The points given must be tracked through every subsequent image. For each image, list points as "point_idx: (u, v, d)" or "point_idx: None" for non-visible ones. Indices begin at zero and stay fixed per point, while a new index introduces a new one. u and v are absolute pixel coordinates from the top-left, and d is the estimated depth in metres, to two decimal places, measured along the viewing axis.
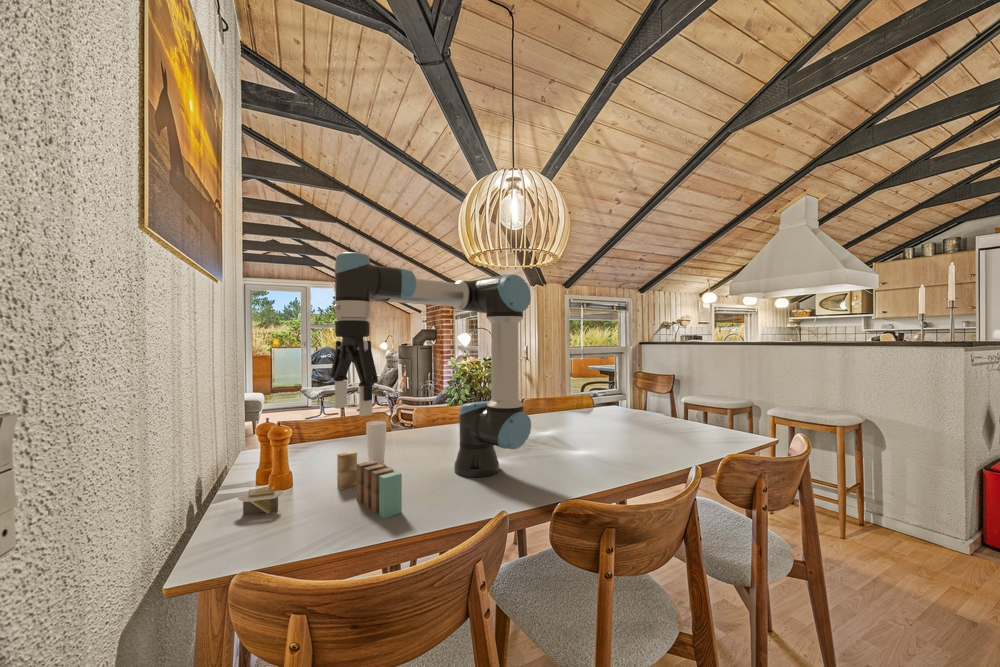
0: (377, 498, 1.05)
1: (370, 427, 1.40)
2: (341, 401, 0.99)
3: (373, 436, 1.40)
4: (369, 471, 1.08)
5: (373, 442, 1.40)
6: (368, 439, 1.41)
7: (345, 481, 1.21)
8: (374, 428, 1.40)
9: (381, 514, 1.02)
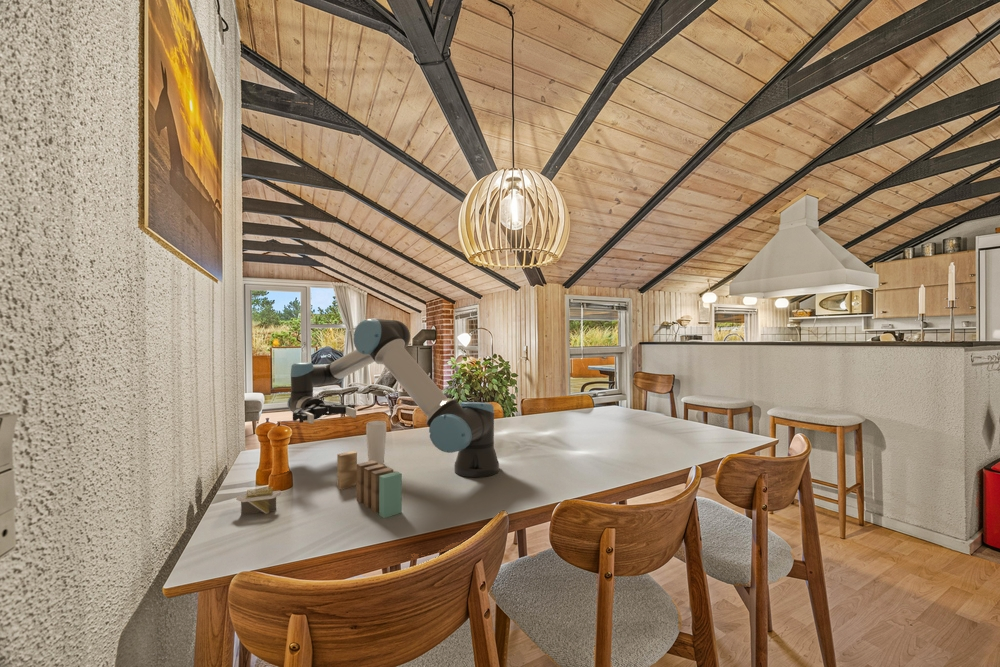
0: (377, 498, 1.05)
1: (370, 427, 1.40)
2: (352, 413, 1.36)
3: (373, 436, 1.40)
4: (369, 471, 1.08)
5: (373, 442, 1.40)
6: (368, 439, 1.41)
7: (345, 481, 1.21)
8: (374, 428, 1.40)
9: (381, 514, 1.02)
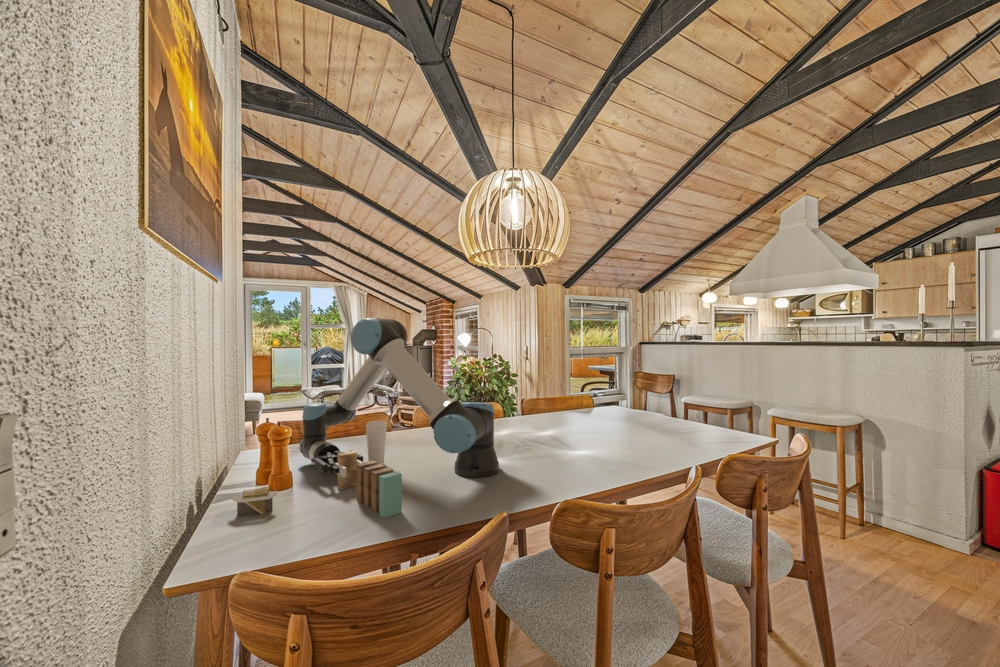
0: (377, 498, 1.05)
1: (370, 427, 1.40)
2: None
3: (373, 436, 1.40)
4: (369, 471, 1.08)
5: (373, 442, 1.40)
6: (368, 439, 1.41)
7: (345, 481, 1.21)
8: (374, 428, 1.40)
9: (381, 514, 1.02)
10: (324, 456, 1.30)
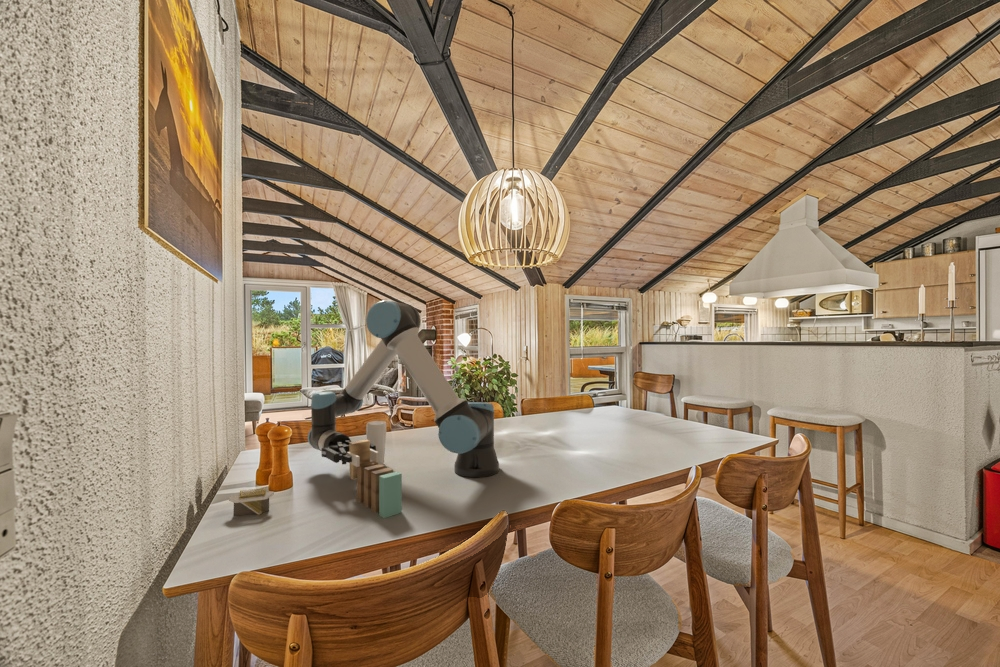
0: (377, 498, 1.05)
1: (370, 427, 1.40)
2: (373, 456, 1.16)
3: (373, 436, 1.40)
4: (369, 471, 1.08)
5: (373, 442, 1.40)
6: (368, 439, 1.41)
7: None
8: (374, 428, 1.40)
9: (381, 514, 1.02)
10: (335, 446, 1.23)
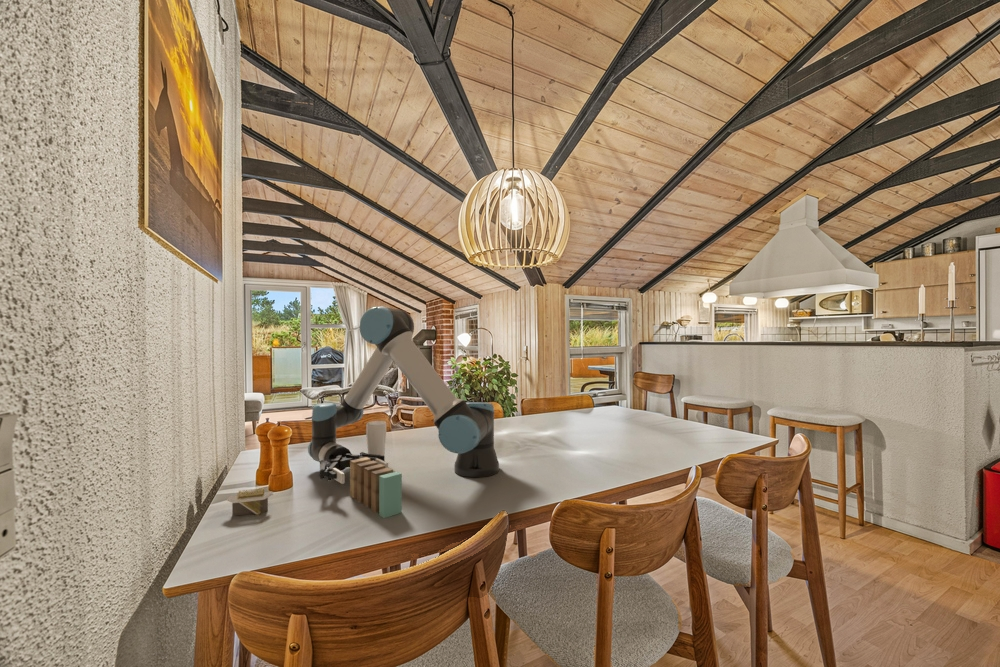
0: (377, 498, 1.05)
1: (370, 427, 1.40)
2: None
3: (373, 436, 1.40)
4: (369, 471, 1.08)
5: (373, 442, 1.40)
6: (368, 439, 1.41)
7: None
8: (374, 428, 1.40)
9: (381, 514, 1.02)
10: (334, 459, 1.23)
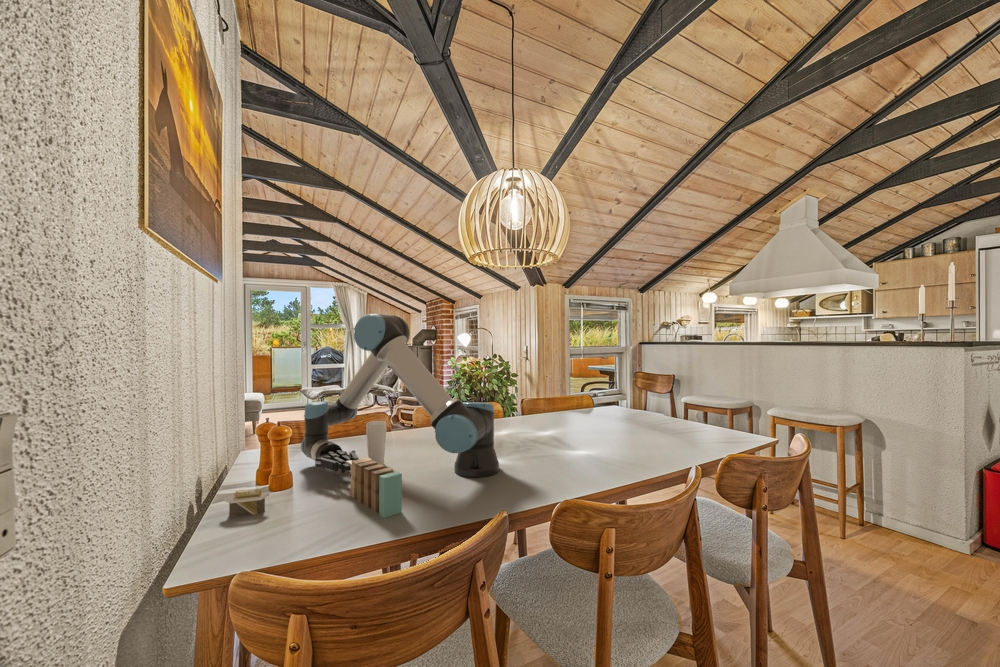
0: (377, 498, 1.05)
1: (370, 427, 1.40)
2: None
3: (373, 436, 1.40)
4: (369, 471, 1.08)
5: (373, 442, 1.40)
6: (368, 439, 1.41)
7: None
8: (374, 428, 1.40)
9: (381, 514, 1.02)
10: (326, 455, 1.28)
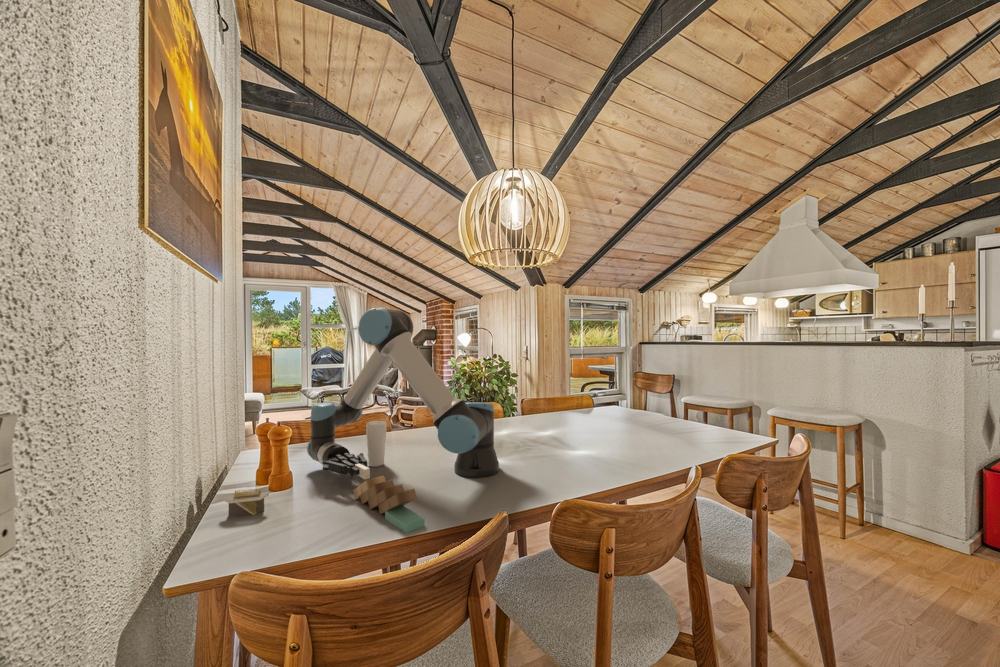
0: None
1: (370, 427, 1.40)
2: None
3: (373, 436, 1.40)
4: None
5: (373, 442, 1.40)
6: (368, 439, 1.41)
7: None
8: (374, 428, 1.40)
9: (386, 517, 1.00)
10: (334, 458, 1.24)
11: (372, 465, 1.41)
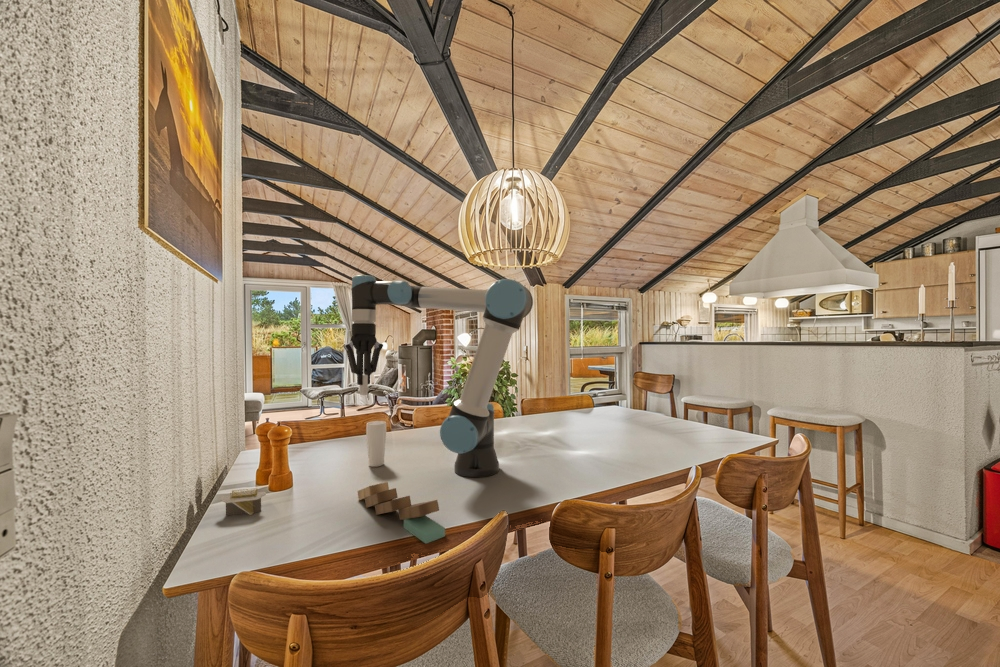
0: (409, 517, 0.97)
1: (370, 427, 1.40)
2: None
3: (373, 436, 1.40)
4: None
5: (373, 442, 1.40)
6: (368, 439, 1.41)
7: None
8: (374, 428, 1.40)
9: (405, 525, 0.96)
10: (358, 342, 1.31)
11: (372, 465, 1.41)
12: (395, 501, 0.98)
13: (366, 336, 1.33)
